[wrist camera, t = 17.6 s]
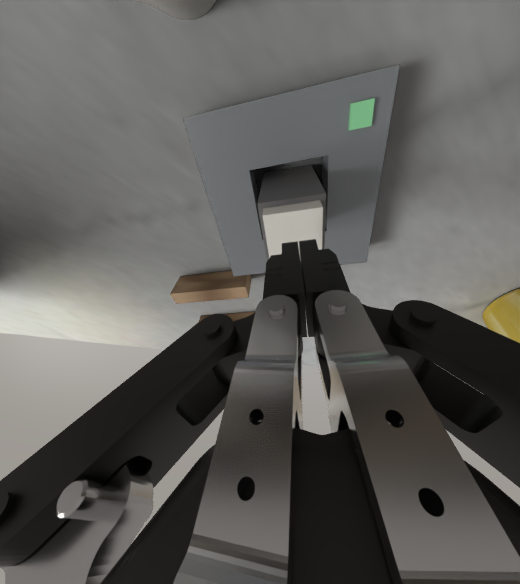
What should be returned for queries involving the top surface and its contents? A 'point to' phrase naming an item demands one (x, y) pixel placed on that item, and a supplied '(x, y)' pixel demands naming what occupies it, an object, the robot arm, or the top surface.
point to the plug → (291, 208)
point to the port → (295, 147)
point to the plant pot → (505, 315)
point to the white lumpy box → (182, 7)
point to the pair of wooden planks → (212, 289)
